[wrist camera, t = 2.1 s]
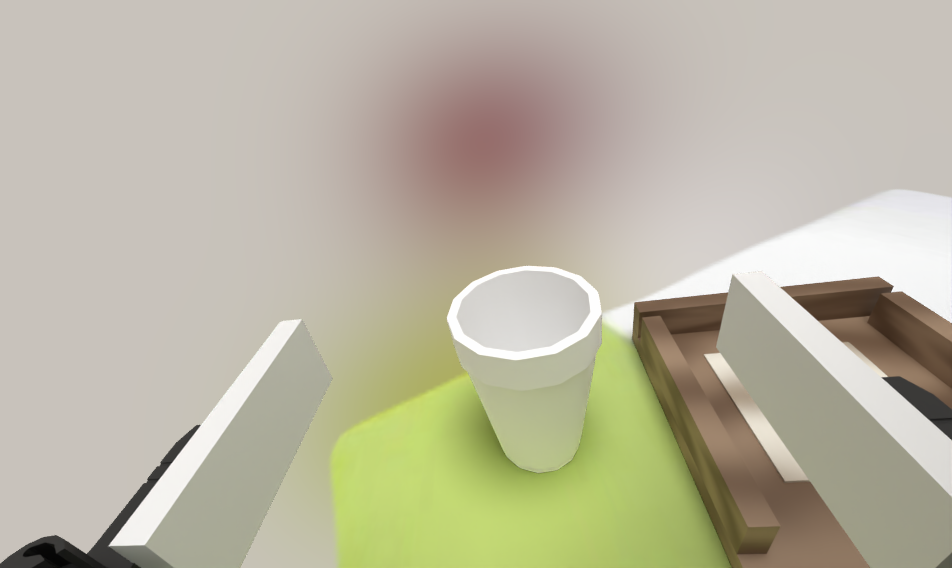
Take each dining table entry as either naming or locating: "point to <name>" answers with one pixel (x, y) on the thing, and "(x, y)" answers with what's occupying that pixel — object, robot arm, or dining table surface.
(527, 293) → the foam cup
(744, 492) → the tray
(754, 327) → the robot arm
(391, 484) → the dining table surface
